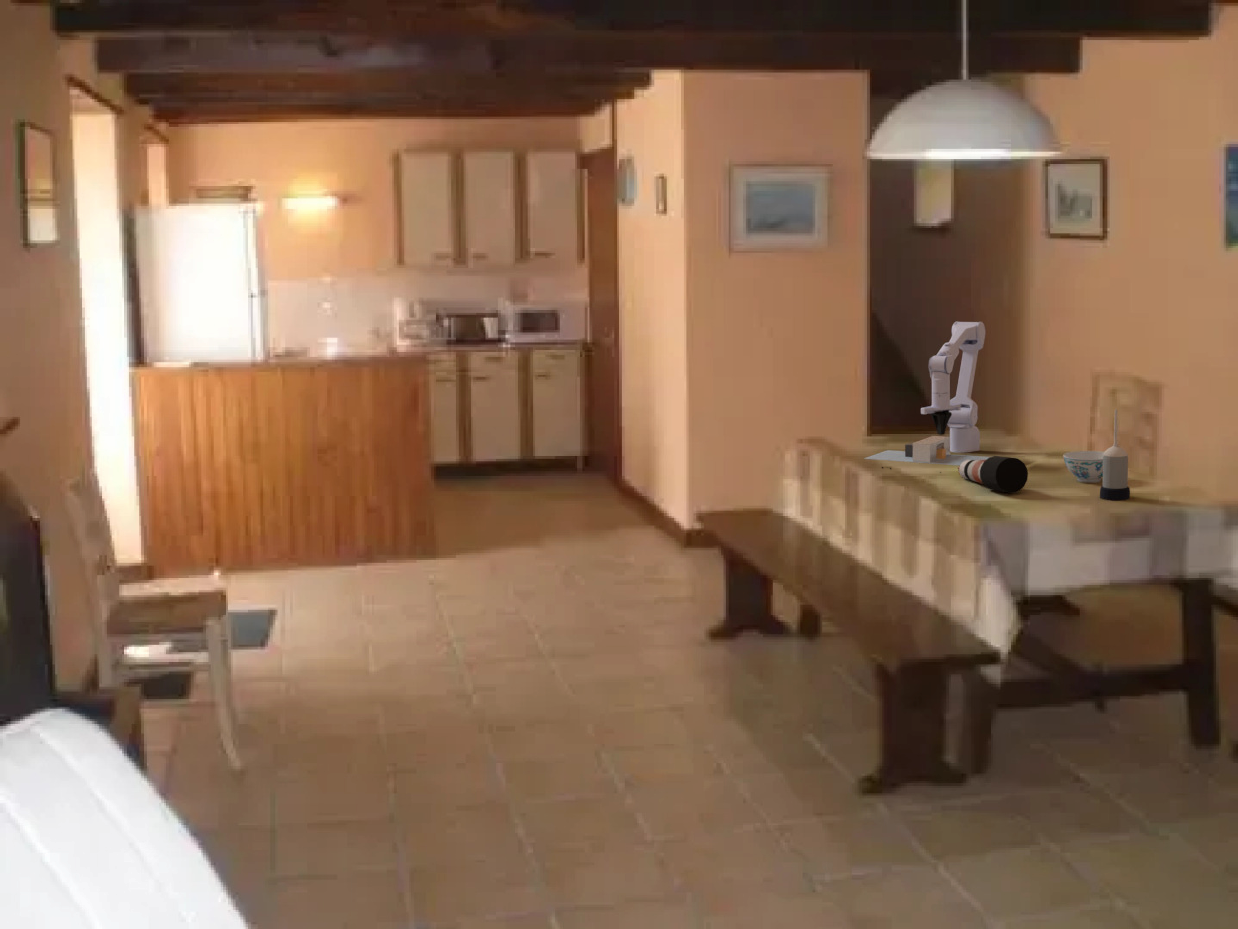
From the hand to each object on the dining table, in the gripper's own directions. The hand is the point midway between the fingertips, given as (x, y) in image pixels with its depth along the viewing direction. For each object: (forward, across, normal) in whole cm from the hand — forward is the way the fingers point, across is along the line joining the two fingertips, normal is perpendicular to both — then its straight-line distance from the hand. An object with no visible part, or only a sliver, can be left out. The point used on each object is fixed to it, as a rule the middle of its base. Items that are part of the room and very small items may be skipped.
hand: (940, 434), depth 504 cm
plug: (+8, +2, -6) cm, 10 cm away
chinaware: (+9, -14, +54) cm, 56 cm away
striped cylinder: (+9, +15, +41) cm, 45 cm away
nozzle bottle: (+9, -1, +77) cm, 78 cm away
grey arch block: (+9, +2, -3) cm, 9 cm away
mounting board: (+9, +2, -3) cm, 10 cm away
